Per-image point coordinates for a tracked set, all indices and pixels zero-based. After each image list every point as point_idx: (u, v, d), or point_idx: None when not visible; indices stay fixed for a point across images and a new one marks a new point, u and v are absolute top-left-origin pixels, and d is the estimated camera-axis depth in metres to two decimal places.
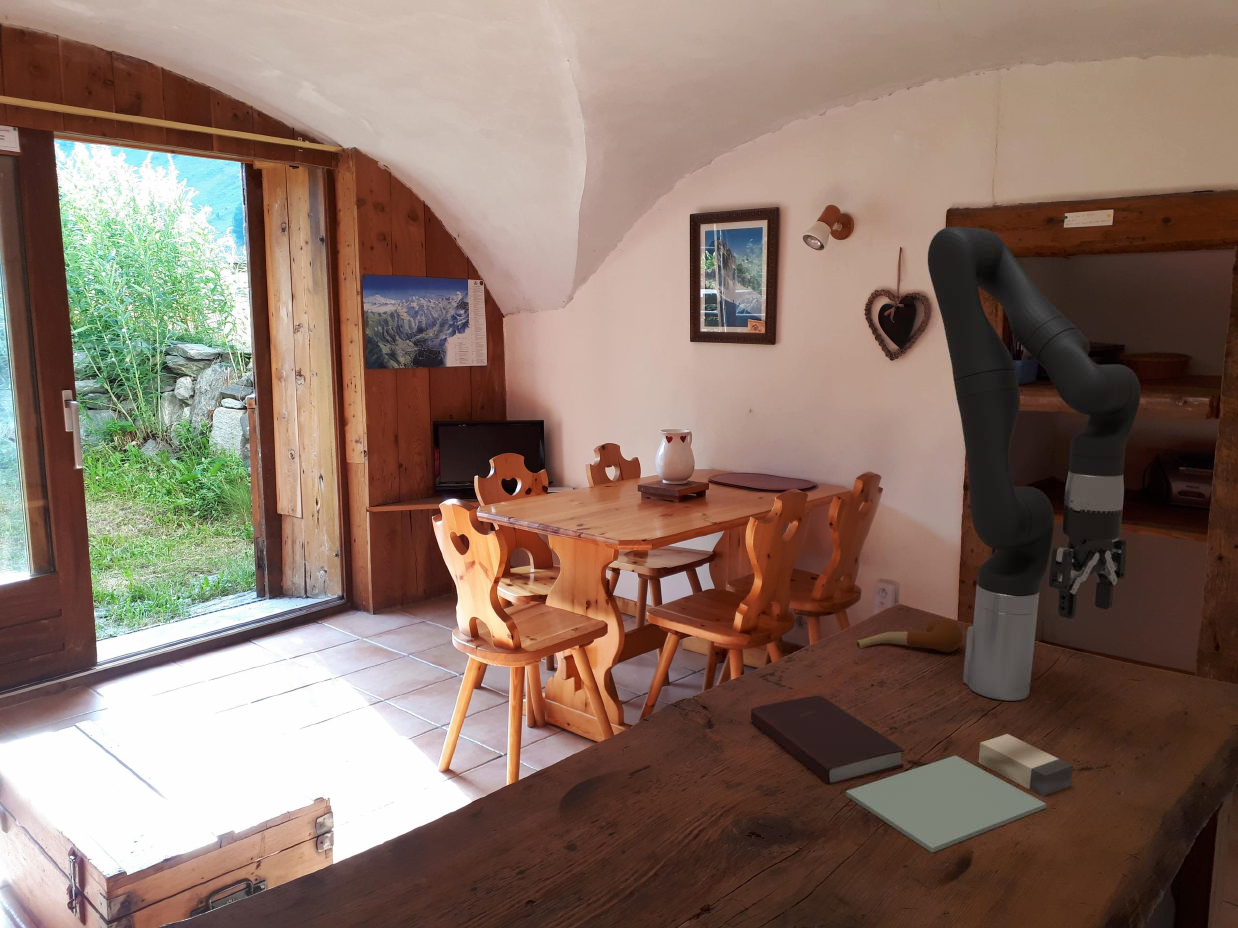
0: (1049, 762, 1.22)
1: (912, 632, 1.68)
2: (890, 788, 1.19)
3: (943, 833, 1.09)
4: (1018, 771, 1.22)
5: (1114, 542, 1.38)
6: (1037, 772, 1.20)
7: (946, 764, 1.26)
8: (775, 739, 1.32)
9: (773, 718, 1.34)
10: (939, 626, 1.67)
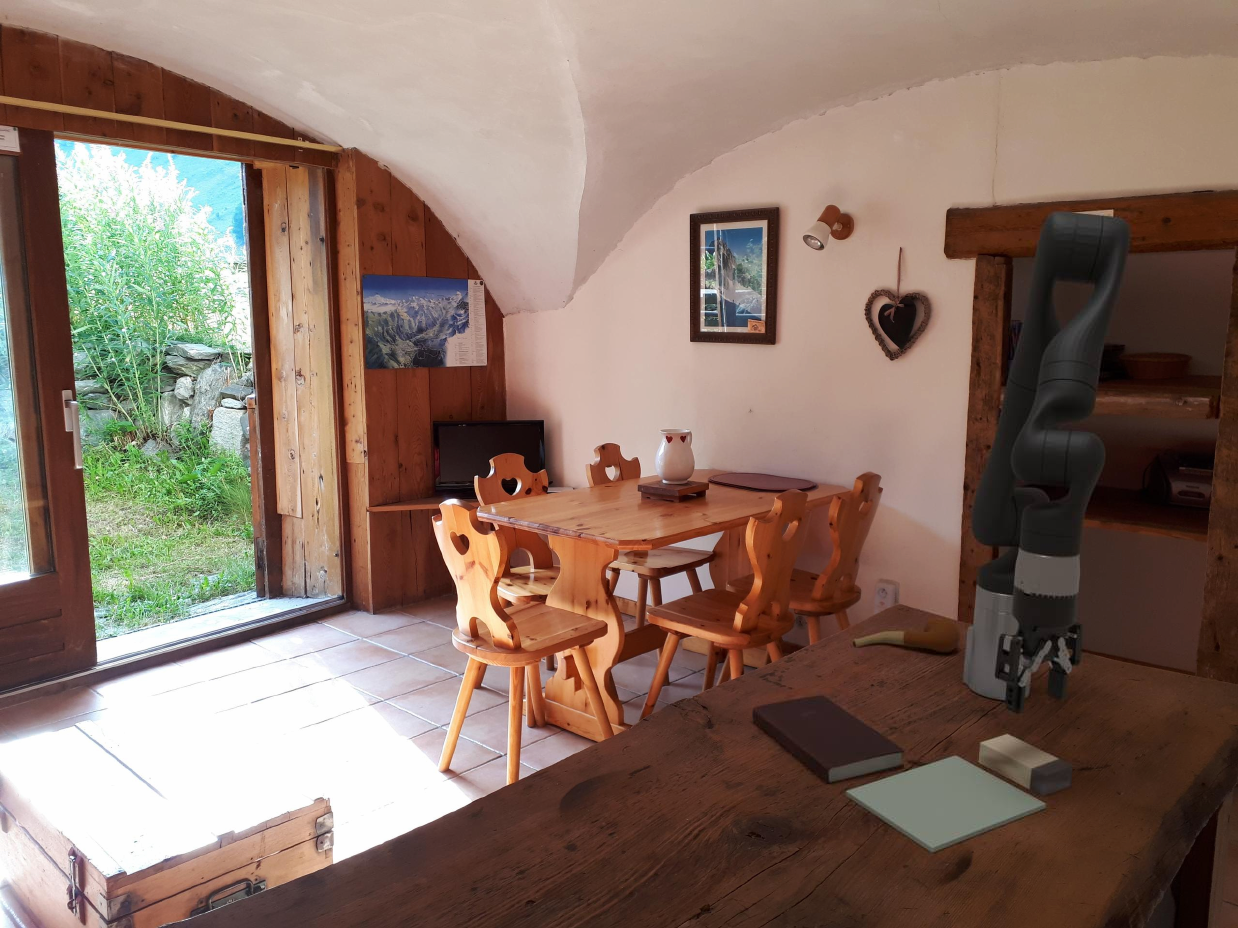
0: (1049, 762, 1.22)
1: (909, 632, 1.68)
2: (890, 788, 1.19)
3: (943, 833, 1.09)
4: (1018, 771, 1.22)
5: None
6: (1037, 772, 1.20)
7: (946, 764, 1.26)
8: (776, 738, 1.33)
9: (774, 717, 1.35)
10: (936, 626, 1.67)
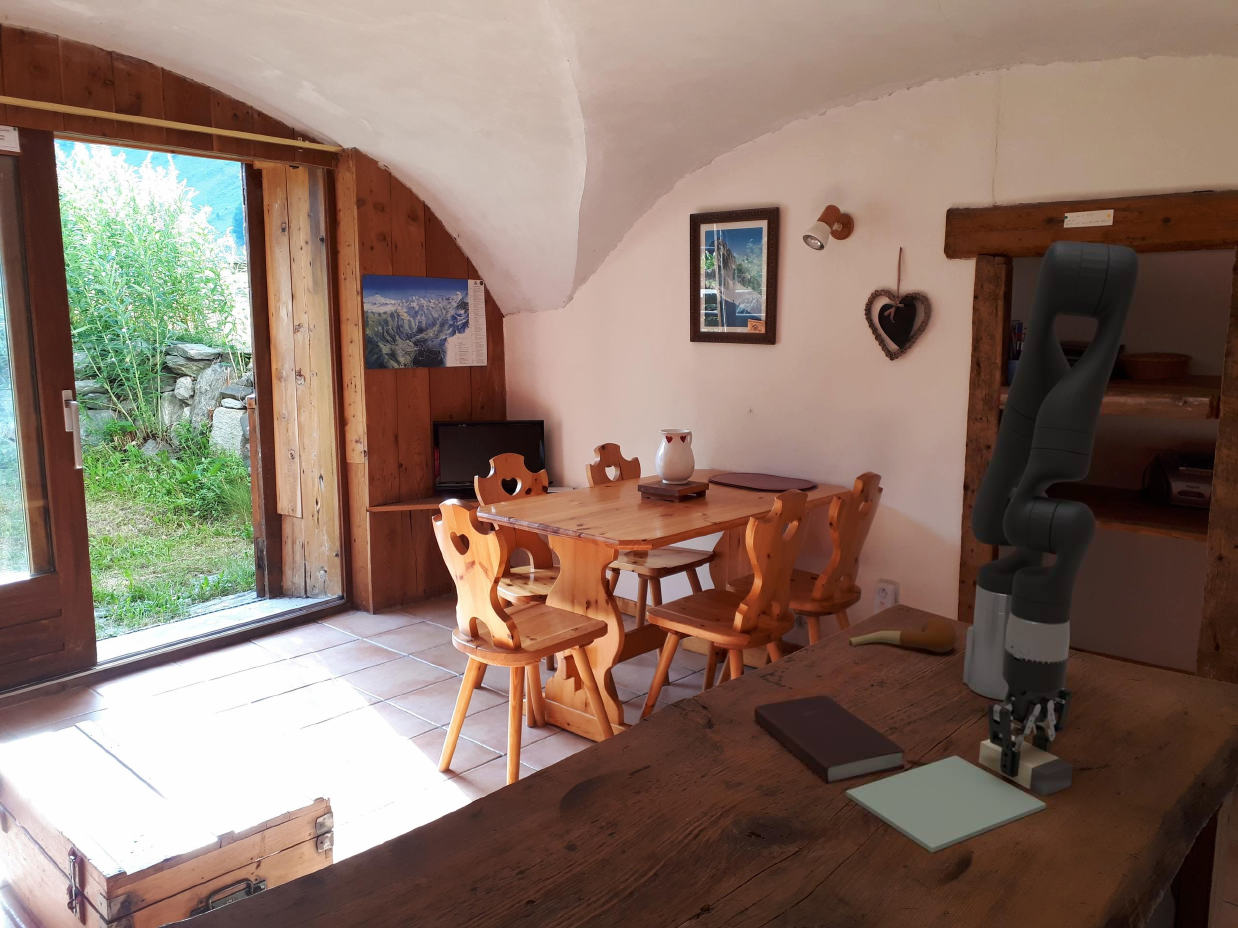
0: (1049, 761, 1.22)
1: (905, 632, 1.68)
2: (890, 788, 1.19)
3: (943, 833, 1.09)
4: (1018, 771, 1.22)
5: (1059, 690, 1.25)
6: (1037, 771, 1.20)
7: (946, 764, 1.26)
8: (777, 737, 1.33)
9: (775, 716, 1.35)
10: (932, 626, 1.66)
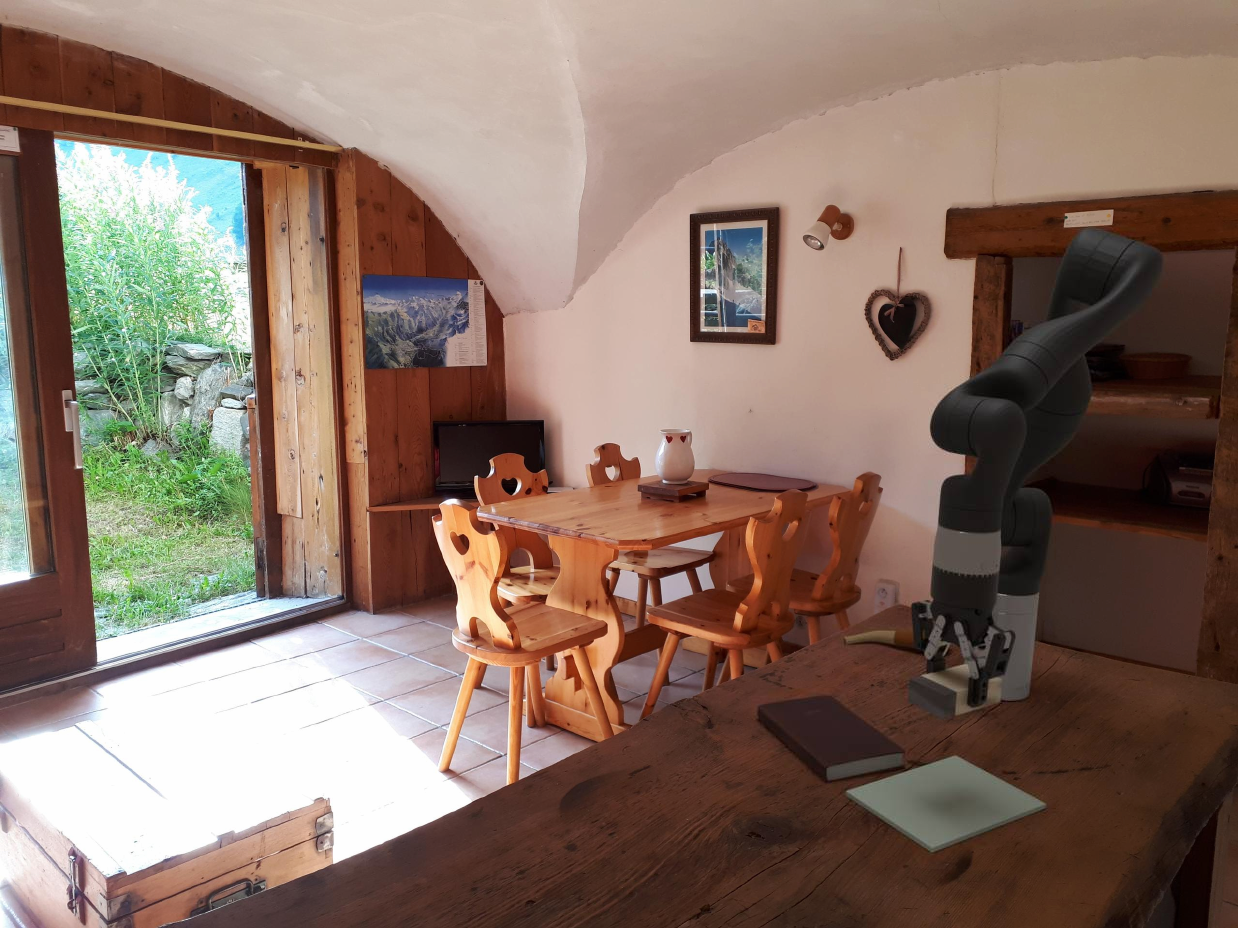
0: (943, 685, 1.12)
1: (900, 632, 1.68)
2: (890, 788, 1.19)
3: (943, 833, 1.09)
4: None
5: (994, 630, 1.08)
6: None
7: (946, 764, 1.26)
8: (779, 736, 1.33)
9: (778, 715, 1.35)
10: None
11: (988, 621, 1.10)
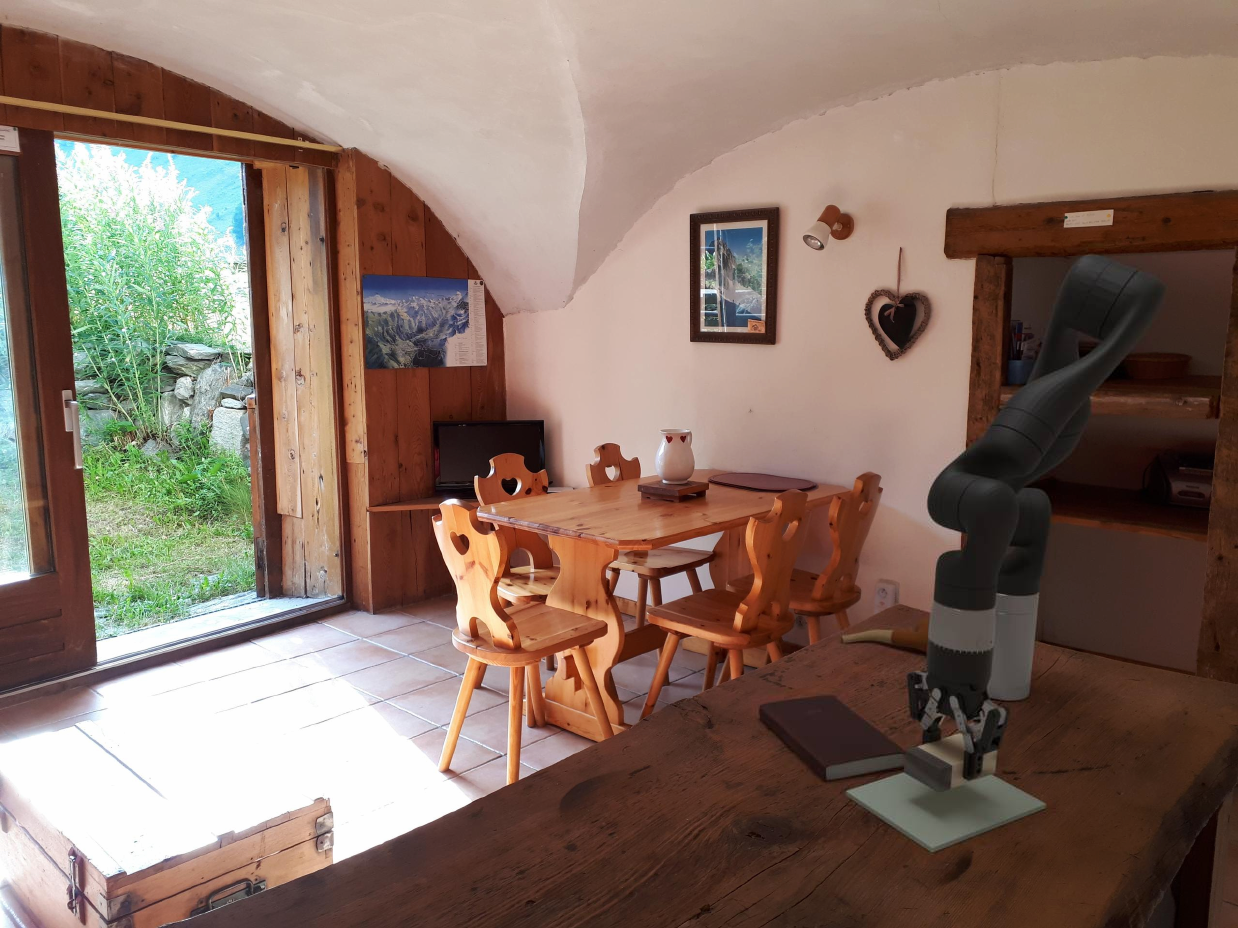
0: (939, 758, 1.14)
1: (897, 631, 1.69)
2: (890, 788, 1.19)
3: (943, 833, 1.09)
4: None
5: (989, 706, 1.10)
6: (912, 749, 1.16)
7: None
8: (780, 735, 1.34)
9: (779, 714, 1.36)
10: (924, 627, 1.66)
11: (983, 696, 1.11)
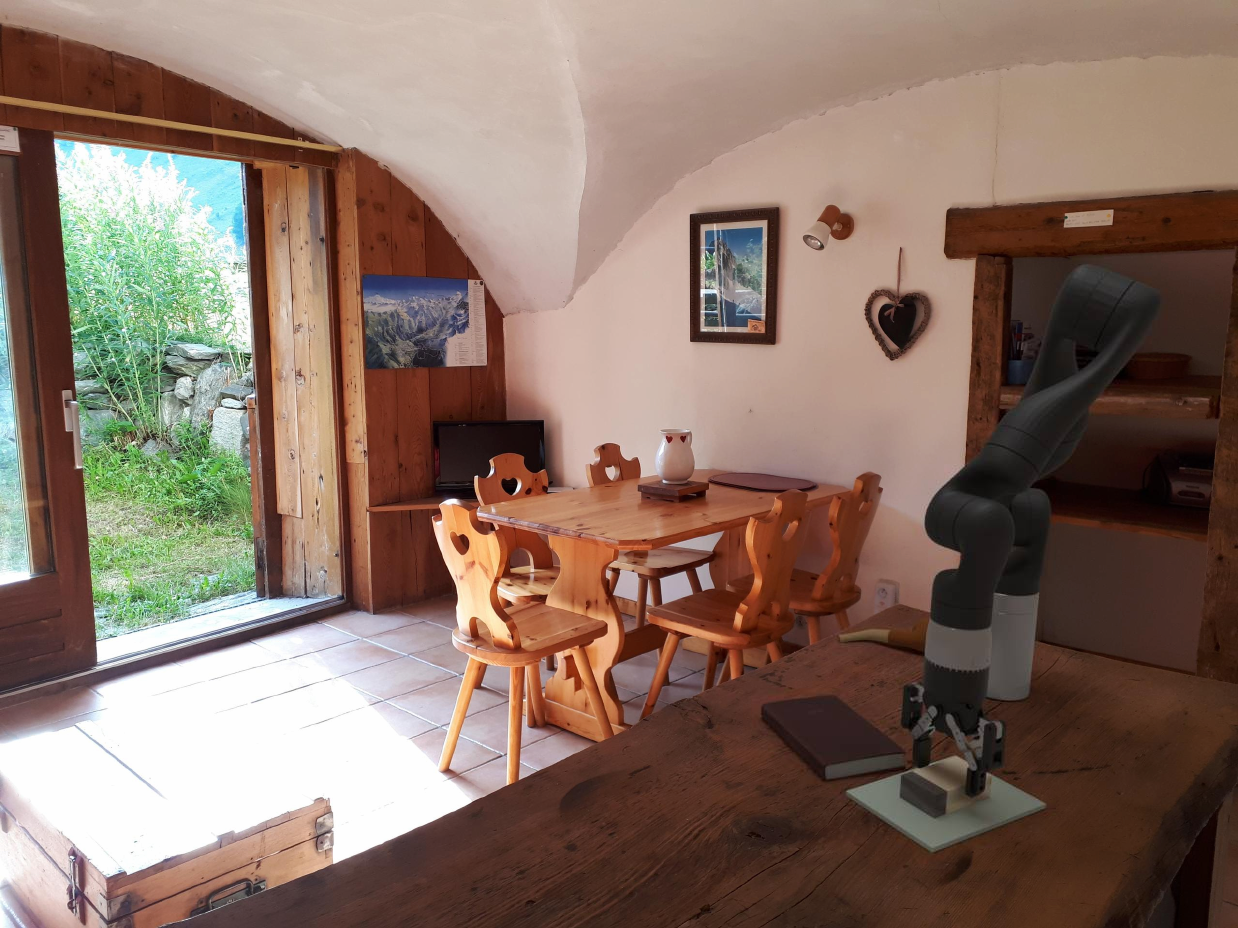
0: (934, 783, 1.15)
1: (894, 631, 1.69)
2: (890, 788, 1.19)
3: (943, 833, 1.09)
4: None
5: (985, 721, 1.10)
6: None
7: None
8: (781, 735, 1.34)
9: (780, 714, 1.36)
10: (920, 626, 1.66)
11: (978, 713, 1.12)
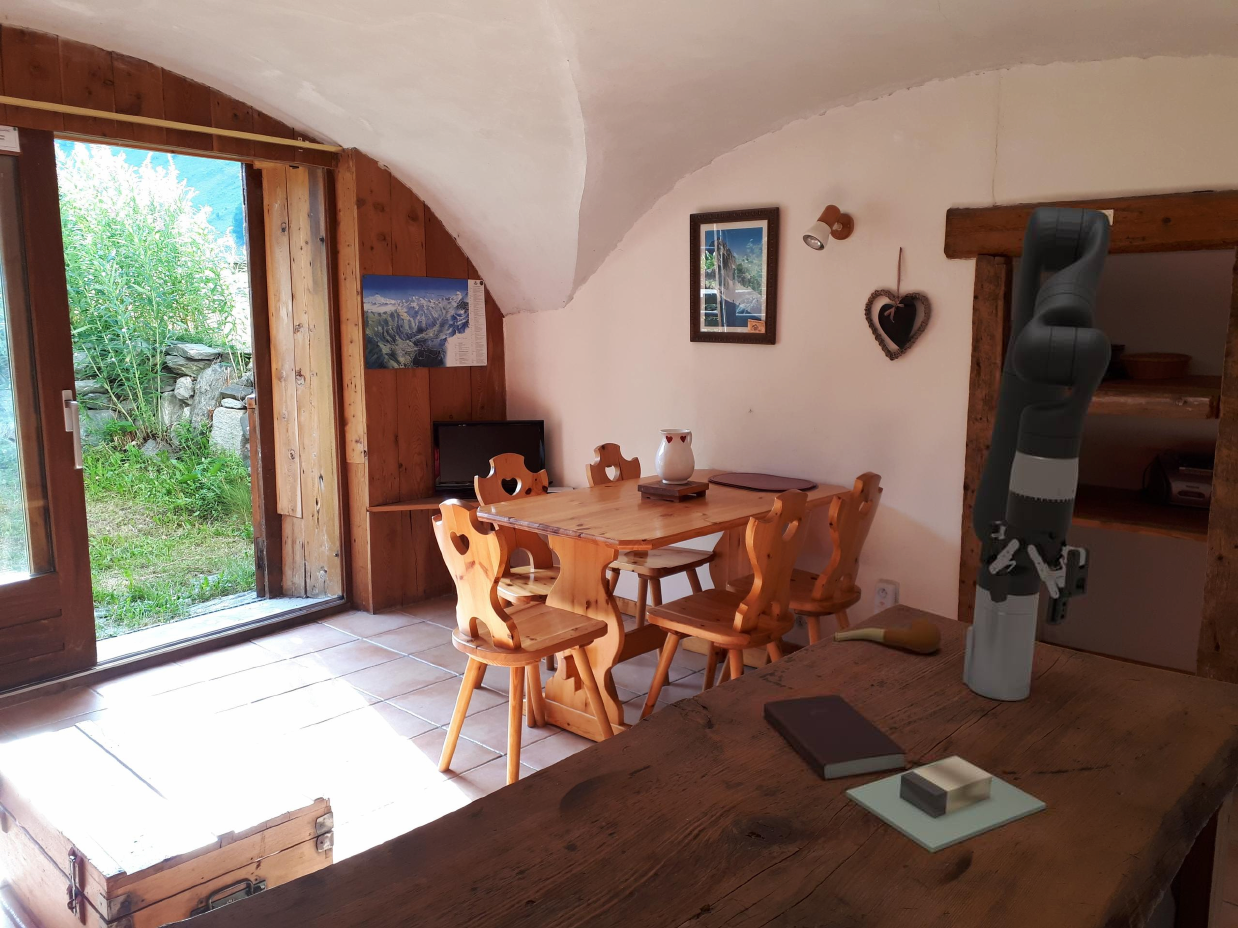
0: (934, 783, 1.15)
1: (889, 630, 1.69)
2: (890, 788, 1.19)
3: (943, 833, 1.09)
4: None
5: (1068, 549, 1.13)
6: None
7: None
8: (782, 734, 1.34)
9: (782, 713, 1.36)
10: (915, 626, 1.66)
11: (1061, 543, 1.14)
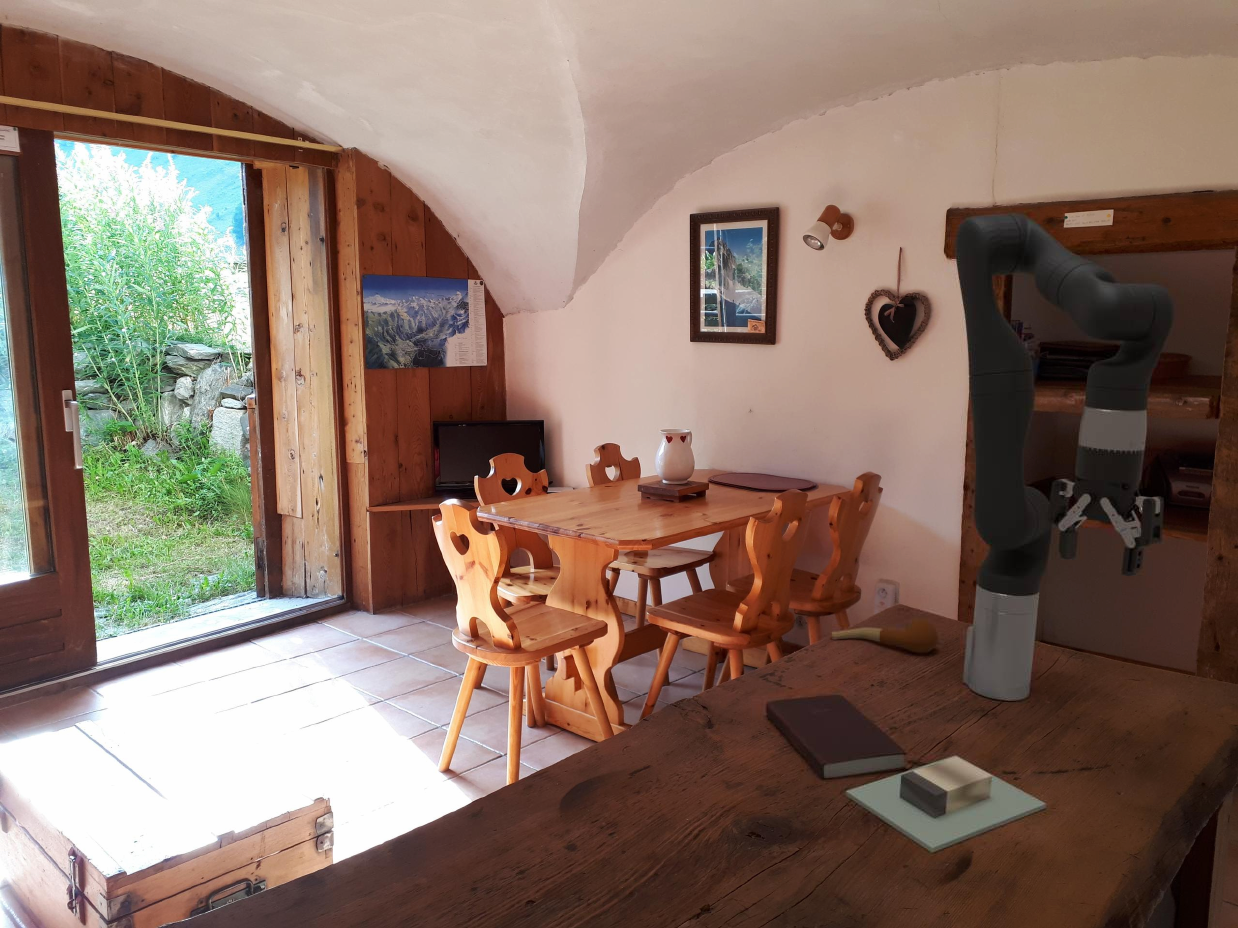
0: (934, 783, 1.15)
1: (886, 629, 1.69)
2: (890, 788, 1.19)
3: (943, 833, 1.09)
4: None
5: (1142, 499, 1.16)
6: None
7: None
8: (784, 733, 1.34)
9: (784, 712, 1.36)
10: (911, 626, 1.66)
11: (1133, 495, 1.17)
